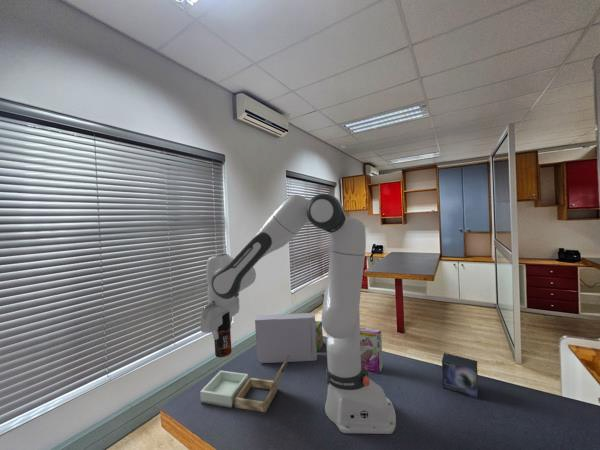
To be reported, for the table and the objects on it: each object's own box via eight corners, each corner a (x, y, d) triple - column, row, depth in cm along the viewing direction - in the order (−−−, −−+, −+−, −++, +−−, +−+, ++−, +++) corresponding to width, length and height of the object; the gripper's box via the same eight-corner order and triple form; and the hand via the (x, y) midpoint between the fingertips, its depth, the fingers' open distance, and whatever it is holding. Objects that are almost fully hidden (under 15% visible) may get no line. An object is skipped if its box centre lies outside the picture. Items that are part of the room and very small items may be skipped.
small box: (442, 388, 89) (440, 360, 89) (444, 378, 94) (443, 351, 94) (478, 400, 83) (476, 369, 82) (478, 389, 88) (477, 360, 88)
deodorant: (222, 358, 88) (220, 317, 88) (211, 354, 92) (209, 315, 91) (234, 351, 93) (232, 312, 93) (224, 347, 97) (222, 309, 96)
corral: (277, 389, 93) (277, 381, 93) (265, 412, 82) (265, 403, 82) (250, 385, 96) (249, 377, 96) (234, 407, 85) (234, 398, 85)
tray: (248, 384, 97) (248, 374, 97) (231, 407, 85) (231, 396, 85) (221, 380, 101) (220, 370, 100) (200, 402, 88) (200, 391, 88)
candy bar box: (353, 367, 105) (351, 328, 104) (357, 361, 109) (355, 324, 109) (380, 374, 99) (378, 334, 98) (383, 368, 103) (381, 329, 103)
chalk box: (319, 352, 118) (317, 321, 117) (301, 350, 121) (299, 320, 120) (323, 343, 126) (322, 314, 126) (306, 341, 129) (305, 313, 129)
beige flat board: (277, 380, 93) (280, 382, 93) (265, 402, 82) (268, 405, 82) (288, 354, 92) (291, 356, 91) (277, 373, 81) (280, 375, 80)
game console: (317, 361, 110) (315, 317, 110) (257, 364, 111) (254, 320, 110) (316, 354, 116) (314, 312, 116) (259, 356, 117) (257, 315, 116)
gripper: (210, 307, 81) (212, 348, 81) (241, 289, 101) (243, 323, 101) (194, 306, 83) (196, 347, 83) (227, 289, 103) (229, 322, 103)
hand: (222, 333), depth 92 cm, fingers closed on deodorant, 6 cm apart
